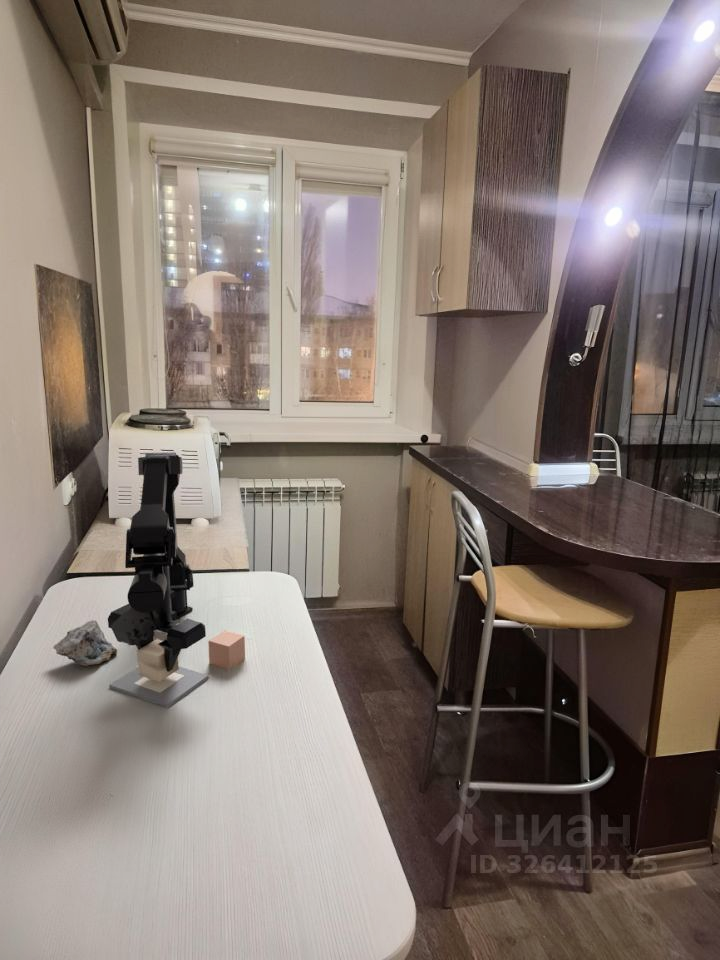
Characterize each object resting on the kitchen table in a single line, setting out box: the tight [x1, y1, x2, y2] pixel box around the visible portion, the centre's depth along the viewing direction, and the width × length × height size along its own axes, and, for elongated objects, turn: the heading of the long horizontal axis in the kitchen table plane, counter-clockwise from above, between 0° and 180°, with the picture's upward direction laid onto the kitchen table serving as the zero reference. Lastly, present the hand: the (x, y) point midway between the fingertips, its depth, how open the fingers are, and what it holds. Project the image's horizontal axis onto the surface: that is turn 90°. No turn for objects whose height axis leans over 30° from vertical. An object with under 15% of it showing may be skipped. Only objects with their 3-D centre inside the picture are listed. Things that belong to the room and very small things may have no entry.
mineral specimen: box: [53, 619, 118, 667], centre depth 126 cm, size 10×8×10 cm
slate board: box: [108, 665, 209, 709], centre depth 118 cm, size 11×14×1 cm
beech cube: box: [136, 638, 179, 682], centre depth 117 cm, size 5×5×5 cm
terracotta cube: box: [207, 630, 246, 670], centre depth 126 cm, size 5×5×5 cm
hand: (158, 667), depth 117 cm, fingers closed on beech cube, 5 cm apart
